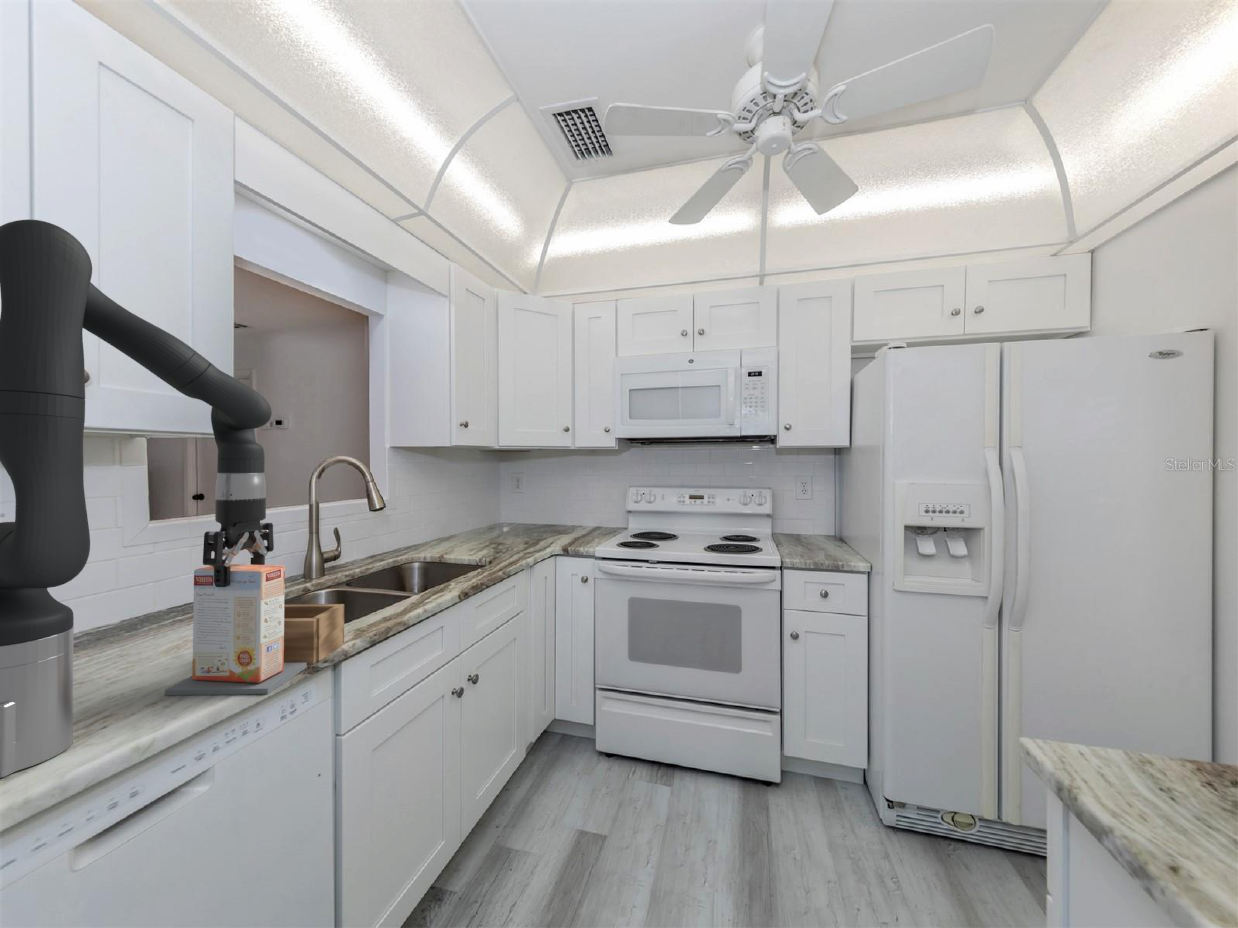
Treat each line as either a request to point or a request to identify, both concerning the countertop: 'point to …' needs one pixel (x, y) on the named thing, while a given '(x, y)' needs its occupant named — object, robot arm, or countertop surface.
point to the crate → (312, 631)
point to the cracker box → (239, 624)
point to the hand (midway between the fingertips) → (240, 581)
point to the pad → (235, 684)
